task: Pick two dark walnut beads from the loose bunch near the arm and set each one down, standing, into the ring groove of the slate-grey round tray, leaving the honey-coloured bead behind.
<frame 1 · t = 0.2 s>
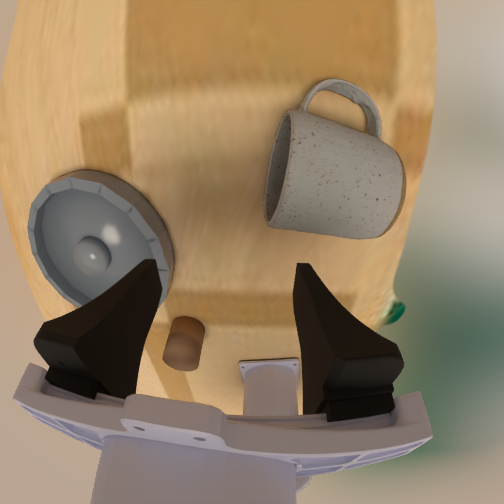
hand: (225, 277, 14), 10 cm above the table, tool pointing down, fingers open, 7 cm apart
bead a: (188, 327, 31), on the table
ceramic mug: (321, 146, 19), on the table
tray: (98, 248, 25), on the table
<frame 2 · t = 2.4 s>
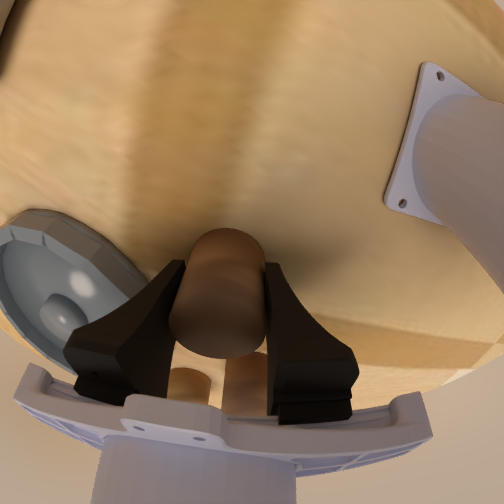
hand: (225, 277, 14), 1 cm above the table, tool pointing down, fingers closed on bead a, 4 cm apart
bead a: (227, 260, 15), on the table, touching gripper
tray: (71, 305, 18), on the table
bead b: (250, 365, 21), on the table
bead c: (189, 378, 22), on the table
when the fingers open (4 cm above the table, at t = 4.9 s): bead a drops 2 cm, resting on tray.
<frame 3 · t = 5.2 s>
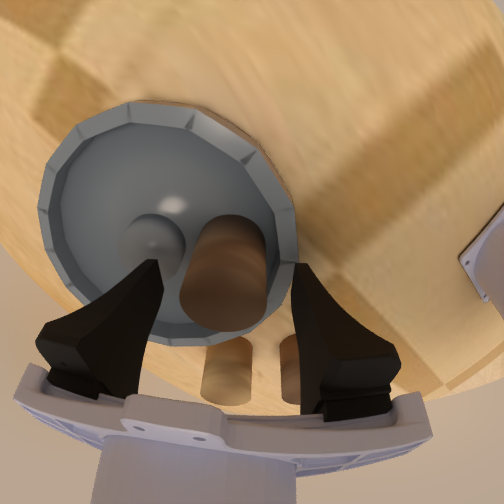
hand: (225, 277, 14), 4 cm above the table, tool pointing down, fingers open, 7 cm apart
bead a: (231, 244, 16), point 1 cm above the table, touching tray
tray: (159, 235, 17), on the table
bead b: (301, 346, 23), on the table
bead c: (230, 347, 23), on the table
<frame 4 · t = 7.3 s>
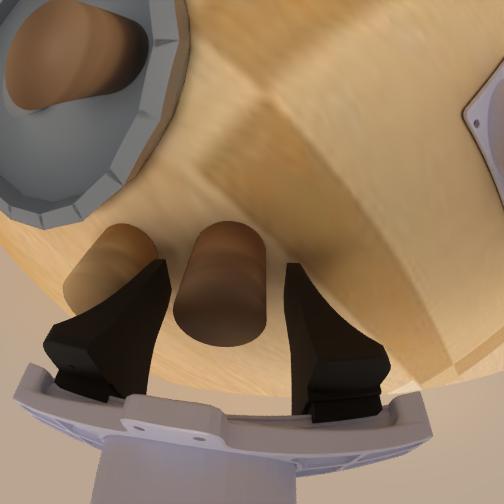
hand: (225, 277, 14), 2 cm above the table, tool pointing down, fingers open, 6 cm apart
bead a: (110, 55, 9), point 1 cm above the table, touching tray
tray: (49, 76, 9), on the table
bead b: (230, 252, 15), on the table
bead c: (129, 250, 16), on the table, touching gripper
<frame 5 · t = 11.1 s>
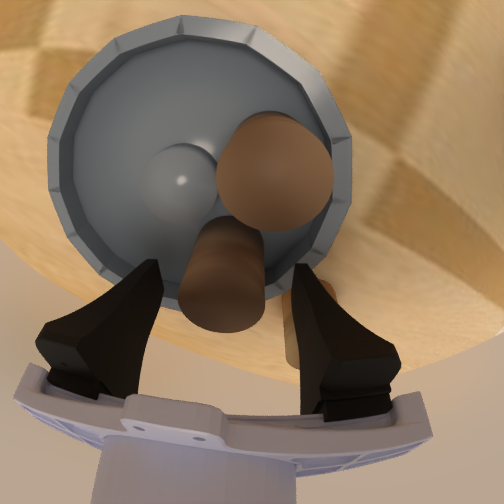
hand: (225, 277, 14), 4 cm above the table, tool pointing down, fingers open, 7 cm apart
bead a: (270, 148, 13), point 1 cm above the table, touching tray
tray: (188, 174, 15), on the table
bead b: (230, 245, 16), point 1 cm above the table, touching tray
bead c: (308, 299, 20), on the table
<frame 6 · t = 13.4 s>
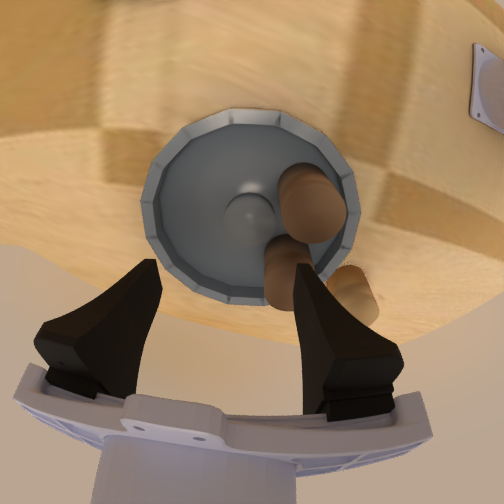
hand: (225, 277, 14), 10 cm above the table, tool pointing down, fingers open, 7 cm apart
bead a: (303, 187, 20), point 1 cm above the table, touching tray
tray: (250, 211, 22), on the table
bead b: (286, 253, 24), point 1 cm above the table, touching tray
bead c: (345, 281, 26), on the table
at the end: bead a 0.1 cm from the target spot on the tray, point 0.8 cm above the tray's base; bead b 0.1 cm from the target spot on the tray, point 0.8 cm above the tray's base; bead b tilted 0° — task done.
